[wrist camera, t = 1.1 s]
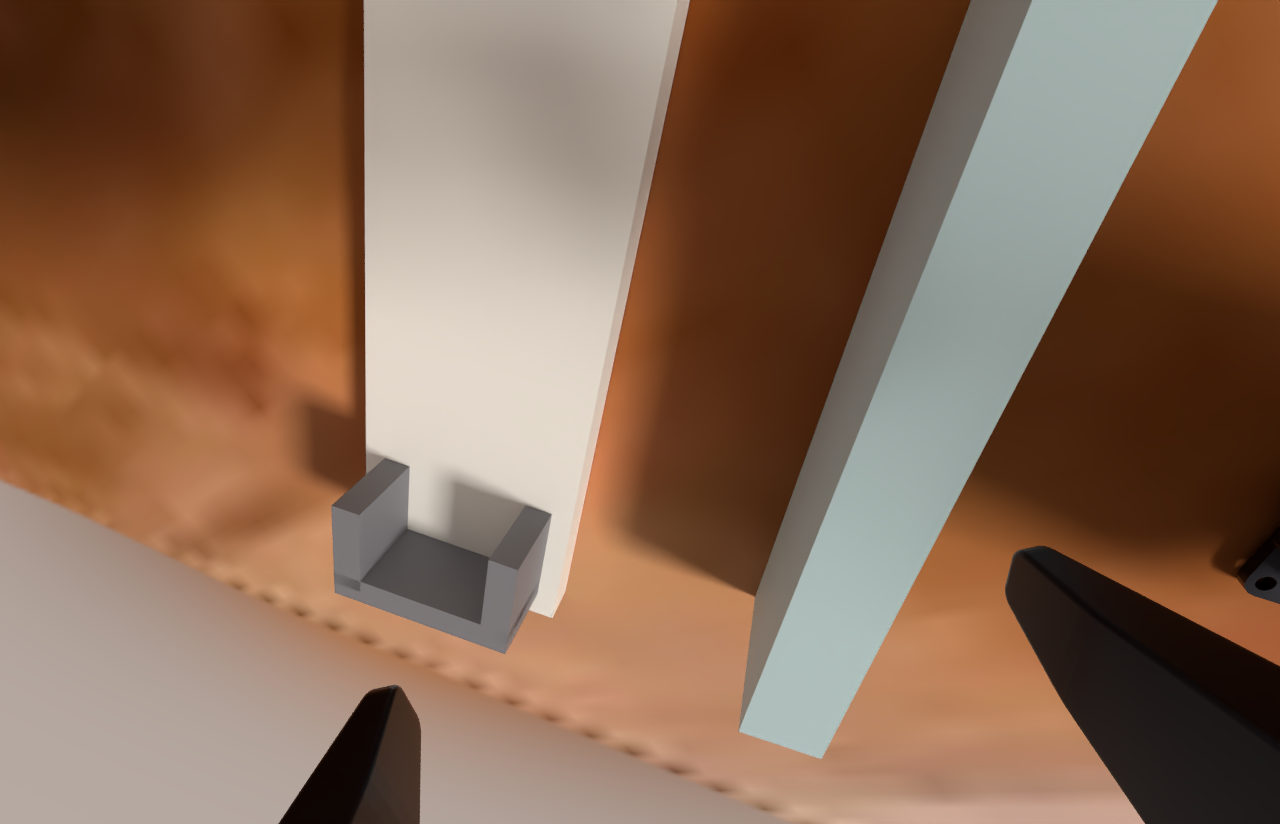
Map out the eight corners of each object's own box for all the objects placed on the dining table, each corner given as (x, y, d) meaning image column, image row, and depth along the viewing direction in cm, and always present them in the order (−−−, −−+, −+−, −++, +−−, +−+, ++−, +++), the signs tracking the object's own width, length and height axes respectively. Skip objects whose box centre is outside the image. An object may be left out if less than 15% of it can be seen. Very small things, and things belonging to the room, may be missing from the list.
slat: (1098, -18, 14) (1252, -66, 9) (821, 613, 24) (821, 759, 19) (982, -38, 15) (1070, -95, 10) (755, 593, 25) (738, 731, 20)
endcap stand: (748, -279, 14) (720, -416, 10) (565, 591, 27) (521, 680, 23) (402, -345, 15) (251, -494, 11) (387, 530, 28) (317, 605, 24)
